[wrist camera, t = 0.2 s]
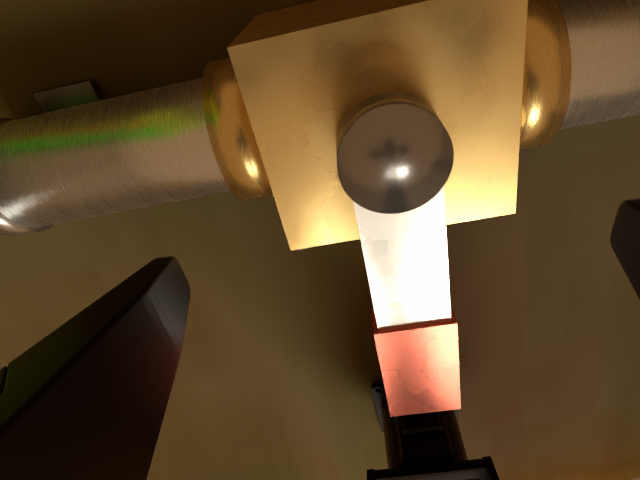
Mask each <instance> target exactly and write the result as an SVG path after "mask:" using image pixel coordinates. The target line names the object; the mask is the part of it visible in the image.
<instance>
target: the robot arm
mask: <svg viewBox="0 0 640 480" xmlns="http://www.w3.org/2000/svg"><path fill="white" fill-rule="evenodd" d="M610 241H611V246H612V249H613V251H614V252H615V254H616V256H617V258H618V260H619V262H620V264H621V266H622V267H623V269H624V271H625V273H626V275H627V277H628V279H629V281H630V282H631V284H632V286H633V288H634V290H635V292H636V294H637V296H638V297H639V299H640V198H639V199H631V200H625V201H623V202H622V203H621V204H620V205H619V207H618V210H617V214H616V217H615V221H614V225H613V228H612V232H611V237H610ZM189 299H190V287H189V284H188V282H187V279H186V277H185V275H184V272H183V270H182V268H181V265H180V263H179V261H178V260H177V258H176V257H174V256H168V257H159V258H155V259H153V260H152V261H151V262H149V263H148V264H147V265H145V266H144V267H142V268H141V269H140V270H138V271H137V272H135V273H134V274H133V275H131V276H130V277H128V278H127V279H126V280H124V281H123V282H121V283H120V284H119V285H117V286H116V287H115V288H113V289H112V290H110V291H109V292H108V293H106V294H105V295H103V296H102V297H101V298H99V299H98V300H96V301H95V302H94V303H92V304H91V305H89V306H88V307H87V308H85V309H84V310H83V311H81V312H80V313H78V314H77V315H76V316H74V317H73V318H71V319H70V320H69V321H67V322H66V323H64V324H63V325H62V326H60V327H59V328H57V329H56V330H55V331H53V332H52V333H51V334H49V335H48V336H46V337H45V338H44V339H42V340H41V341H39V342H38V343H37V344H35V345H34V346H32V347H31V348H30V349H28V350H27V351H25V352H24V353H23V354H21V355H20V356H19V357H17V358H16V359H14V360H13V361H12V362H10V363H9V364H8V367H7V366H5V367H3V368H2V369H0V480H146V479H147V475H148V472H149V468H150V464H151V461H152V457H153V454H154V450H155V446H156V443H157V439H158V436H159V432H160V428H161V425H162V421H163V418H164V414H165V410H166V407H167V403H168V400H169V396H170V393H171V389H172V385H173V382H174V378H175V375H176V371H177V367H178V363H179V359H180V355H181V350H182V344H183V338H184V331H185V325H186V318H187V312H188V306H189ZM372 393H373V398H374V402H375V406H376V411H377V415H378V419H379V423H380V428H381V431H383V432H384V436H385V445H386V453H387V462H388V469H382V470H375V469H369V470H367V480H499V477H498V475H497V472H496V470H495V467H494V464H493V462H492V459H491V457H490V456H488V457H482V459H474V460H468V459H467V455H466V452H465V448H464V444H463V441H462V437H461V433H460V430H459V426H458V411H457V409H456V410H447V411H438V412H429V413H420V414H411V415H402V416H393V417H390V412H389V407H388V402H387V397H386V392H385V387H384V382H377V383H374V384H372Z"/></svg>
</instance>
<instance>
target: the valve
mask: <svg viewBox="0 0 640 480" xmlns="http://www.w3.org/2000/svg"><path fill="white" fill-rule="evenodd" d="M227 50H228V53H229V56H230V58H226V59H221V60H217V61H213V62H209V63H208V64H207V65H206V66H205V68H204V71H203V76H202V78H197V79H193V80H188V81H184V82H180V83H175V84H171V85H166V86H162V87H158V88H153V89H149V90H144V91H140V92H135V93H131V94H127V95H122V96H118V97H113V98H109V99H104V97H103V95H102V93H101V91H100V89H99V87H98V85H97V83H96V81H95V79H94V78H93V79H89V80H84V81H80V82H76V83H72V84H67V85H63V86H59V87H55V88H50V89H46V90H42V91H38V92H36V93H34V94H33V95H34V97H35V99H36V100H37V102H38V104H39V106H40V107H41V109H42V111H43V112H44V113H43V114H38V115H34V116H30V117H25V118H21V119H16V120H14V119H8V118H0V234H1V235H6V236H18V235H23V234H28V233H34V232H39V231H44V230H47V229H49V228H51V227H52V226H54V225H55V224H59V223H64V222H70V221H75V220H80V219H86V218H91V217H96V216H102V215H107V214H112V213H118V212H123V211H128V210H133V209H139V208H144V207H149V206H155V205H160V204H165V203H171V202H176V201H181V200H187V199H192V198H197V197H203V196H208V195H213V194H219V193H224V192H229V191H232V192H233V193H234V195H235V196H237V197H238V198H239V199H241V200H247V199H252V198H258V197H263V196H269V195H273V196H274V199H275V202H276V205H277V208H278V212H279V215H280V218H281V221H282V224H283V228H284V231H285V234H286V237H287V240H288V243H289V247H290V250H297V249H303V248H309V247H315V246H321V245H327V244H333V243H339V242H345V241H351V240H357V239H360V235H359V230H358V224H357V219H356V214H355V209H354V204H353V200H352V199H351V198H350V197H349V196H348V195H347V194H346V192H345V191H344V189H343V188H342V185H341V183H340V181H339V177H338V172H337V157H336V140H337V135H338V131H339V128H340V126H341V124H342V122H343V120H344V119H345V117H346V116H347V114H348V113H349V112H350V111H351V110H352V109H353V108H354V107H355V106H356V105H357V104H359V103H360V102H361V101H363V100H365V99H367V98H369V97H371V96H373V95H376V94H380V93H384V92H405V93H408V94H412V95H414V96H417V97H419V98H420V99H422V100H424V101H425V102H426V103H427V104H429V105H430V106H431V107H432V109H433V110H434V111H435V113H436V114H437V116H438V117H439V119H440V121H441V122H442V124H443V125H444V127H445V129H446V130H447V132H448V133H449V136H450V138H451V140H452V144H453V150H454V161H453V167H452V170H451V173H450V176H449V178H448V180H447V182H446V183H445V185H444V192H445V211H446V225H448V224H454V223H460V222H466V221H472V220H478V219H484V218H490V217H496V216H502V215H508V214H514V213H516V196H517V179H518V162H519V149H523V148H529V147H534V146H540V145H545V144H547V143H550V142H551V141H552V140H553V139H554V138H555V137H556V135H557V134H558V132H559V130H560V129H564V128H569V127H575V126H580V125H585V124H591V123H596V122H601V121H606V120H612V119H617V118H622V117H628V116H633V115H638V114H640V0H315V1H311V2H307V3H302V4H298V5H294V6H290V7H286V8H282V9H278V10H274V11H269V12H265V13H261V14H257V15H256V16H255V17H254V18H253V19H252V20H251V22H250V23H249V24H248V25H247V26H246V27H245V28H244V29H243V30H242V31H241V33H240V34H239V35H238V36H237V37H236V38H235V39H234V40H233V41H232V43H231V44H230V45H229V46H228V47H227Z"/></svg>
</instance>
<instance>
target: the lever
mask: <svg viewBox="0 0 640 480" xmlns="http://www.w3.org/2000/svg"><path fill="white" fill-rule="evenodd" d="M336 157H337V172H338V177H339V181H340V183H341V185H342V188H343V189H344V191H345V192H346V194H347V195H348V196H349V197H350V198H351V199H352V200H353V204H354V209H355V214H356V219H357V224H358V230H359V235H360V240H361V245H362V250H363V255H364V260H365V266H366V271H367V276H368V281H369V286H370V291H371V297H372V302H373V307H371V316H372V324H373V332H374V338H375V343H376V348H377V353H378V358H379V363H380V368H381V373H382V377H383V382H384V387H385V392H386V397H387V402H388V407H389V412H390V417H393V416H402V415H411V414H420V413H429V412H438V411H447V410H456V409H461V402H460V377H459V352H458V327H457V321H456V318H455V315H454V312H453V309H452V306H451V303H450V289H449V269H448V250H447V231H446V211H445V192H444V185H445V183H446V182H447V180H448V178H449V176H450V173H451V170H452V167H453V161H454V150H453V144H452V140H451V138H450V136H449V133H448V132H447V130H446V129H445V127H444V125H443V124H442V122H441V121H440V119H439V117H438V116H437V114H436V113H435V111H434V110H433V109H432V107H431V106H430V105H429V104H427V103H426V102H425V101H424V100H422V99H420V98H419V97H417V96H414V95H412V94H408V93H405V92H384V93H380V94H376V95H373V96H371V97H369V98H367V99H365V100H363V101H361V102H360V103H359V104H357V105H356V106H355V107H354V108H353V109H352V110H351V111H350V112H349V113H348V114H347V116H346V117H345V119H344V120H343V122H342V124H341V126H340V128H339V131H338V135H337V140H336Z"/></svg>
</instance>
